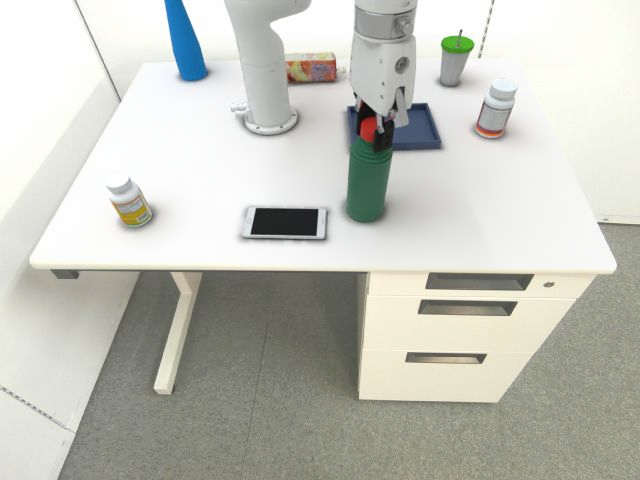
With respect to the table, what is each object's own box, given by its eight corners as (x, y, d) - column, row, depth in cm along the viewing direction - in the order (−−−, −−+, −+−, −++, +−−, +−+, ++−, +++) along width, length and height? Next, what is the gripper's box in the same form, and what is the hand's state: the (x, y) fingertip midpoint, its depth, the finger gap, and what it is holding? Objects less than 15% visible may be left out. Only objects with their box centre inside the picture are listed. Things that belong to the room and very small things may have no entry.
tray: (351, 152, 88) (352, 144, 86) (347, 113, 98) (347, 105, 96) (439, 148, 88) (441, 141, 86) (426, 110, 98) (427, 102, 96)
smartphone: (248, 206, 77) (326, 207, 76) (249, 208, 77) (326, 210, 77) (241, 236, 72) (324, 237, 71) (242, 238, 73) (324, 240, 72)
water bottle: (347, 223, 74) (353, 142, 60) (344, 195, 79) (349, 114, 64) (385, 222, 74) (400, 141, 60) (380, 195, 79) (393, 113, 64)
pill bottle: (485, 120, 94) (500, 73, 85) (508, 131, 91) (526, 84, 82) (469, 130, 92) (483, 84, 83) (492, 142, 88) (509, 95, 80)
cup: (445, 71, 109) (458, 12, 97) (470, 82, 105) (486, 21, 94) (427, 82, 106) (438, 22, 94) (452, 93, 102) (467, 32, 90)
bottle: (175, 79, 111) (133, -53, 88) (189, 66, 115) (152, -63, 92) (199, 83, 109) (162, -51, 86) (211, 70, 114) (180, -61, 90)
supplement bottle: (127, 208, 79) (105, 170, 71) (154, 206, 79) (135, 168, 71) (120, 229, 75) (97, 191, 68) (149, 226, 75) (129, 188, 68)
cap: (391, 137, 62) (392, 128, 61) (368, 145, 61) (370, 135, 60) (377, 123, 65) (378, 114, 63) (355, 130, 63) (356, 121, 62)
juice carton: (335, 71, 111) (335, 46, 106) (336, 83, 107) (336, 58, 102) (258, 74, 111) (255, 50, 106) (257, 87, 107) (253, 62, 102)
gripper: (452, 37, 46) (424, 163, 60) (374, -9, 56) (366, 108, 70) (397, 53, 44) (382, 179, 58) (326, 2, 54) (327, 121, 68)
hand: (373, 139), depth 64 cm, fingers open, 4 cm apart
